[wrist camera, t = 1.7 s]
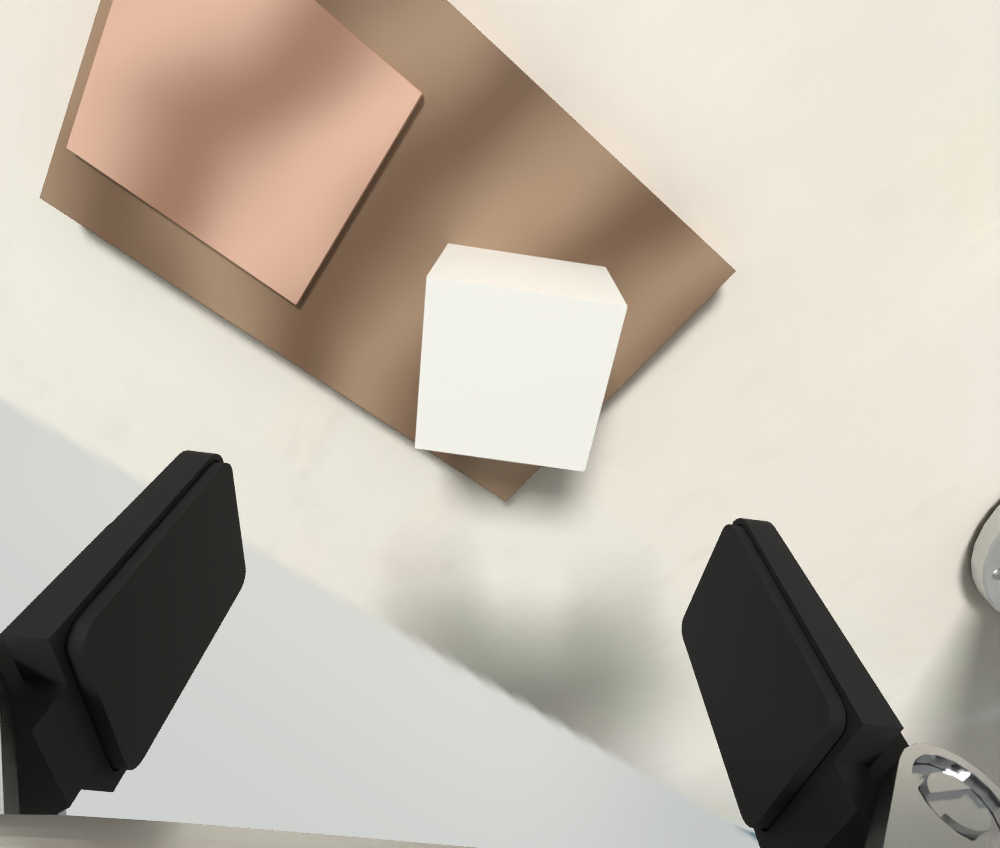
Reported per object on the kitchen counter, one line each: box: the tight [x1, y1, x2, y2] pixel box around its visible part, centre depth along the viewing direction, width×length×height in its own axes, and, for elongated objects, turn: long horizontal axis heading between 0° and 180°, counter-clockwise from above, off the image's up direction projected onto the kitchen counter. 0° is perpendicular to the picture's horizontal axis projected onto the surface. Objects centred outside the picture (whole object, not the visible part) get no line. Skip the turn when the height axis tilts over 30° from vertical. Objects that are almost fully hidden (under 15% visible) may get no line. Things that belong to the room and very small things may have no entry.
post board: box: [40, 0, 735, 501], centre depth 19 cm, size 22×14×5 cm, turn 52°
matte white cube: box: [415, 243, 628, 472], centre depth 19 cm, size 6×6×5 cm
